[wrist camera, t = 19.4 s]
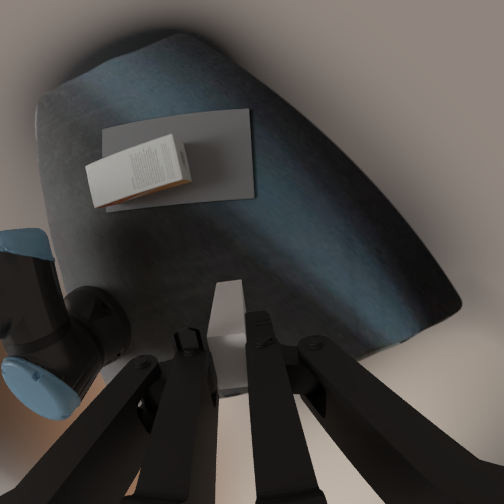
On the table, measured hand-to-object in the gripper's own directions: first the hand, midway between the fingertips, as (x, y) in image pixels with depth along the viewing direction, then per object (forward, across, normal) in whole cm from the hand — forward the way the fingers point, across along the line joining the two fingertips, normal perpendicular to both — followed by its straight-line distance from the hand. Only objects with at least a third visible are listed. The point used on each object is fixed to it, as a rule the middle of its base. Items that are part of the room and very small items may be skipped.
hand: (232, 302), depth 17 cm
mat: (+27, -8, +13) cm, 31 cm away
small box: (+22, -5, +12) cm, 26 cm away
